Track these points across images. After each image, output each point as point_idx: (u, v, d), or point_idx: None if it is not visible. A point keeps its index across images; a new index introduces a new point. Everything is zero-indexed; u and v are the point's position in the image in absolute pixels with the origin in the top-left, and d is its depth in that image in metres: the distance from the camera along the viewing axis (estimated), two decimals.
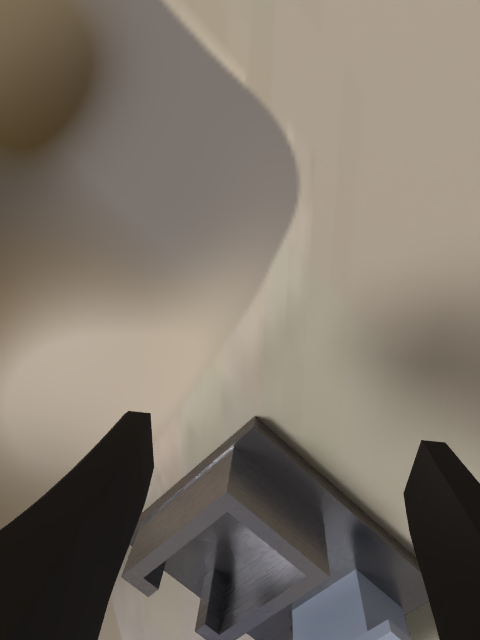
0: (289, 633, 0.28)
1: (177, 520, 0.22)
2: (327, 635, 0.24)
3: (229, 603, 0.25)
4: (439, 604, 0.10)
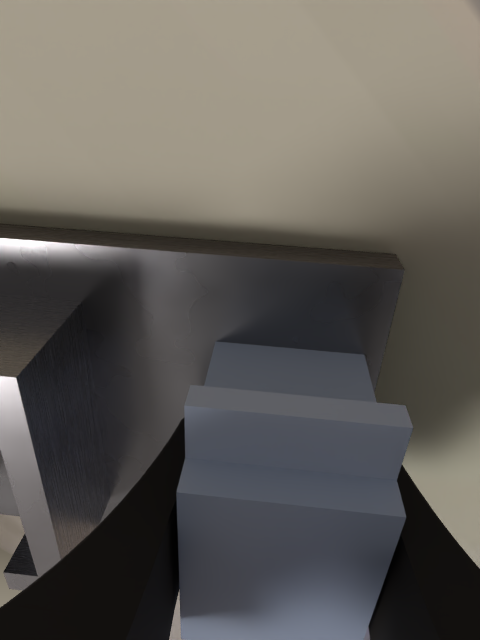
0: None
1: None
2: None
3: None
4: None
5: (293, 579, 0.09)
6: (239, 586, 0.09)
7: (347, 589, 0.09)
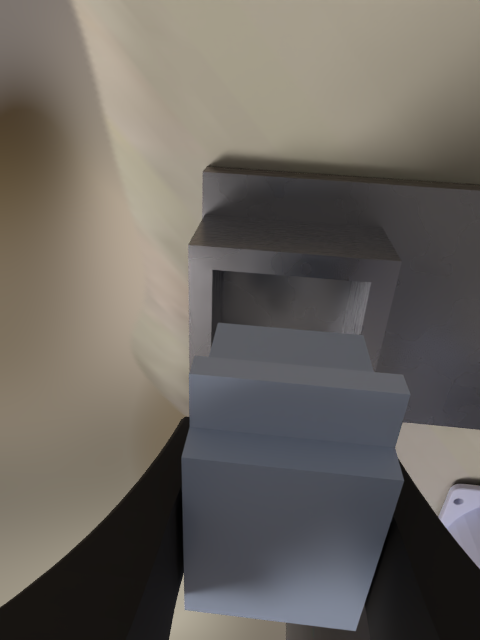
0: (458, 393, 0.21)
1: None
2: None
3: None
4: (369, 596, 0.10)
5: (295, 546, 0.09)
6: (241, 554, 0.10)
7: (347, 556, 0.09)
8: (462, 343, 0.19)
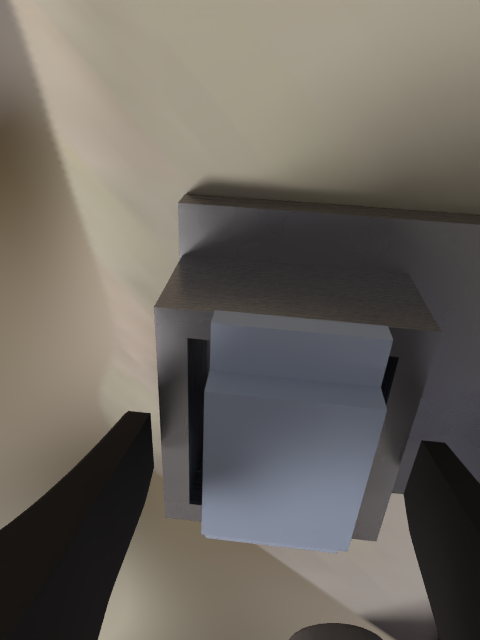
0: None
1: None
2: None
3: None
4: (439, 604, 0.10)
5: (297, 471, 0.11)
6: (252, 480, 0.11)
7: (340, 480, 0.11)
8: None
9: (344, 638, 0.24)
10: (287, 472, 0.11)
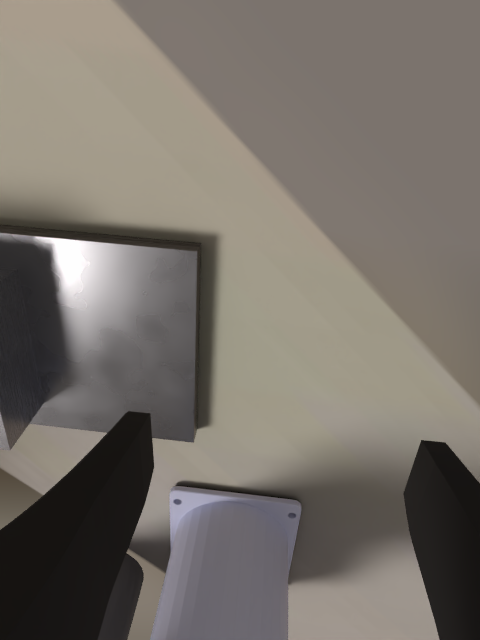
0: (133, 407, 0.24)
1: None
2: None
3: None
4: (439, 604, 0.10)
5: None
6: None
7: None
8: (119, 365, 0.23)
9: None
10: None
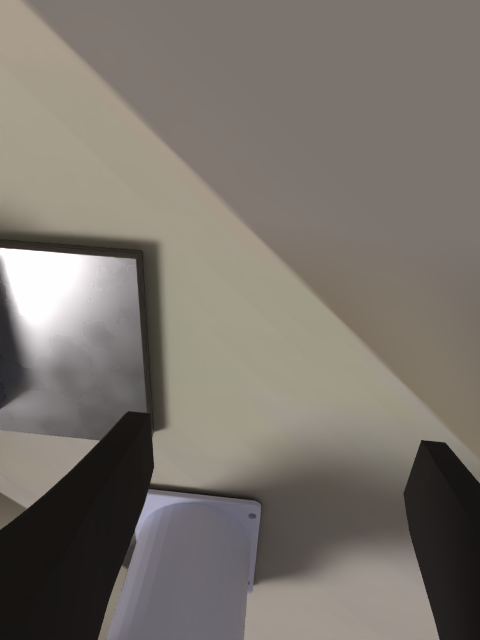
0: (88, 411, 0.24)
1: None
2: None
3: None
4: (439, 604, 0.10)
5: None
6: None
7: None
8: (70, 371, 0.23)
9: None
10: None
